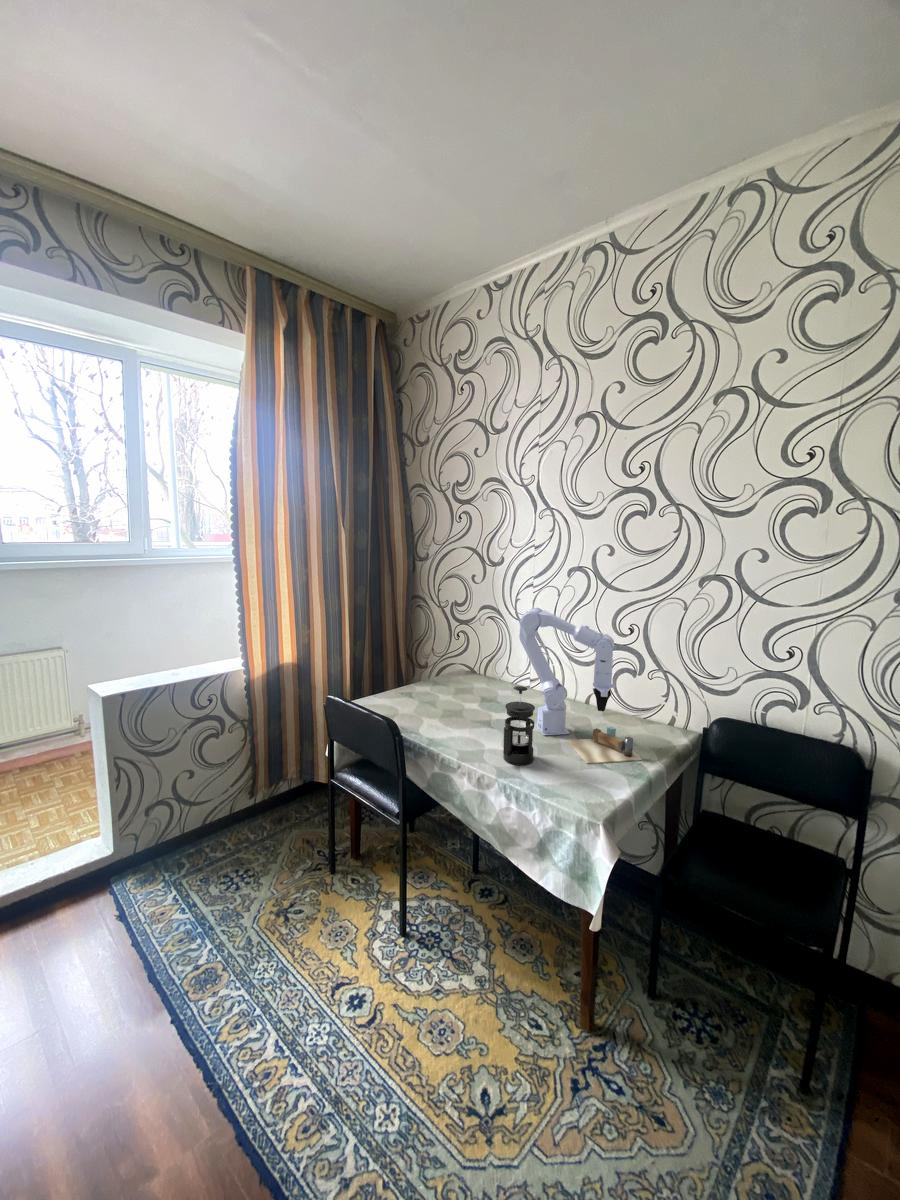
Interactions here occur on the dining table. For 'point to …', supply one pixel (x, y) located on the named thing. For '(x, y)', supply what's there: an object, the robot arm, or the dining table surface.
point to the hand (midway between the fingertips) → (600, 710)
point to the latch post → (611, 731)
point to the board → (599, 752)
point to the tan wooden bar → (608, 740)
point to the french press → (518, 740)
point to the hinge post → (628, 746)
